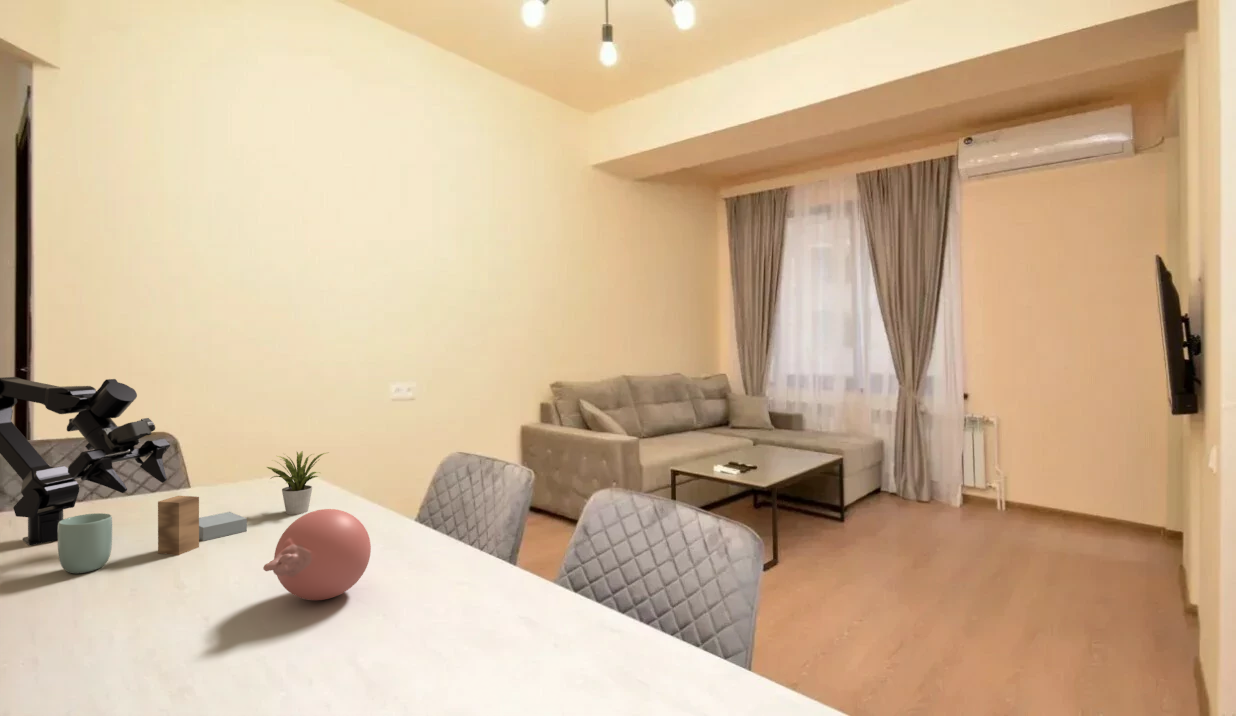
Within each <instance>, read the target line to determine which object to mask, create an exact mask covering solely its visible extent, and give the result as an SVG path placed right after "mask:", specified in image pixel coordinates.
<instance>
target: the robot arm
mask: <svg viewBox="0 0 1236 716" xmlns="http://www.w3.org/2000/svg"><path fill="white" fill-rule="evenodd" d="M137 397H138V394H137V392H136V390H135V389H134V388H133V387H130V386H129V385H127V384H125V383H123V382H120V381H119V382H118V380H117V379H116V378H112V379H111V378H109V379H105V380H104V381H103V382H102V384H101V386H100V387H99V388H98V389H96V388H95V387H93V386H91V385H73V386H72V385H71V386H70V385H67V386H59V385H53V384H48V383H42V382H38V381H33V380H28V379H23V378H20V377H17V376H6V377H5V376H4V377H0V455H1V456H2V458H4V460H5V461H6V462H7V464H9V466H10V467H11V468H12V469H13V470H14V472H15V473H16V474H17V475H18V476H19V477H20V479H21V480H22V483H21V488H20V489H21V490H20V493H21V495H22V497H21V498H20V499H19V500H18V501H17V502H16V503H15V504H14V506H13V511H14V515H15V517H19V518H27V536H24V537H22V541H23V542H25V543H26V544H27V545H28V546H34V545H35V546H36V545H39V544H40V545H41V544H44V543H50V542H51V543H52V542H55V541H58V522H59V521H61V520H63V519H64V510H66V509H71V508H72V509H73V508H75V505H76V503H77V499H78V496H79V493H80V485H79V483H78V481H77V479H81V481H88V482H91V483H95V484H98V485H101V486H103V487H106V488H109V489H111V490H114V491H115V492H116V491H117V492H119V493H122V494H124V493H126V492H127V491H128V488H127V486H126V484H125V482H124V481H123V480H122V479H121V477H120V476H119V475H118V473H117V472H116V471H115V469H114V468H113V467H114V466H113V464H114V463H115V464H116V463H118V462H119V463H120V462H124V461H129V460H133V459H134V460H135V462H136V463H138V464H140V466H139V467H140V469H142V470H144V471H145V472H146V473H148V474H149V475H150V476H152V477H153V478H154V479H156V480H157V481H159V482H160V483H162V484H163V483H165V482H166V481H167V480H168V478H167V475H166V471H165V470H166V469H165V465H164V463H163V456H164V455H165V454H166V452H167V451H168V449H169V448H170V447H171V444H170V443H169V442H168V440H167V439H166V438H161V437H160V438H155V439H149V440H146V441H145V442H144V443H143V444H142V445H141V446H140V447H139V448H135V446H138V445H139V444H140V443H141V441H140V439H142V438H144V437H147V436H150V435H152V432H154V431H156V426H155V425H156V424H154V422H153V420H152V419H151V418H150V417H146V418H141V419H139V420H137V421H131V422H127V423H125V424H122V425H117V423H115V421H114V420H113V419H116V418H119V417H120V416H122V414H123V413H124V412H125V411H126V410H127V409H128V407H130V406H131V404H133V402H135V400H136V399H137ZM18 400H21V401H27V402H33V403H36V404H41V405H43V406H45V409H46V410H48V411H51V412H53V413H55V414H58V415H68V414H69V415H70V414H76V415H75V416H74V417H73V418H69V419H68V424H67V425H66V432H69V433H70V432H74V431H75V432H76V431H79V433H80V434H81V436H82V437H83V438H84V439H85V440H86V442H87V444H86V445H85V448H86V450H85V451H81V452H80V453H79V454H78V455H77V456H76V458H75V459H73V461H71V463H70V464H69V465H68V467H67V466H65V465H60V466H55V467H52V466H51V465H49V464H48V462H47V461H46V460H45V459H44V458H43V457H42V456H41V454H40V453H39V452H38V451H37V450H36V449H35V447H34V446H33V445H32V444H31V443H30V441H29V440H28V439H27V438H26V436H24V434H23V433H22V432H21V431H20V430H19V429H18V428H17V426H16V425H15V424H14V422H13V421H12V418H13V411H14V409H13V408H14V407H15V405H16V404H17V403H18Z"/></svg>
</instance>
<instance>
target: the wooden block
mask: <svg viewBox="0 0 1236 716" xmlns="http://www.w3.org/2000/svg"><path fill="white" fill-rule="evenodd" d="M199 518H200V497H199V496H191V495H190V496H189V495H176V496H172V497H170V498H166V499H162V500H158V501H157V554H161V555H172V556H173V555H174V556H180V555H183V554H186V553H188V552H190V551H194V550H196V549H198V548H200V539H199Z"/></svg>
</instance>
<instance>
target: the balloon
mask: <svg viewBox="0 0 1236 716" xmlns="http://www.w3.org/2000/svg"><path fill="white" fill-rule="evenodd" d="M371 550H372V545H371V539H370V536H369V533H368V530H367V528H366V527H365V525H364V524H363V523H362V522H361V521H360V519H358V518H357V517H356V516H355V515H354V514H351V513H349V512H347V511H344V510H340V509H335V508H324V509H316V510H314V511H313V510H312V511H310V512H308V513H306V514H305V513H304V514H303V515H302V516H300V517H298V518H297V519H295V520H294V521H293V522H292V523H291V524H290V525H288V527H287V528H286V529H285V530H284V532H282V535H281V536H280V538H279V540H278V542H277V543H276V547H275V550H274V556H273V557H274V558H273V559H272V560H271V561H269V562H268V563H265V564H264V565H263V567H262V568H263V569H262V570H264V571H265V572H270V571H273V574H274V575H276V577H277V579H278V581H279V582H280V584H281V585H282V587H283V588H284V589H285V590H286V591H287V592H288V593H289V594H291V595H293V596H295V597H297V598H300V599H302V600H308V601H324V600H325V601H326V600H329V599H332V598H335V597H338V596H340V595H342V594H344V593H345V592H347V591H349V590H350V589H351V588H352V587H353V586H355V584H357V583H358V582H359V580H360V579H361V578H362V577H363V575H364V573H365V572H366V570H367V568H368V565H369V562H370V557H371V552H372V551H371Z"/></svg>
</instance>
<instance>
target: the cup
mask: <svg viewBox="0 0 1236 716" xmlns="http://www.w3.org/2000/svg"><path fill="white" fill-rule="evenodd" d="M112 546H113V515H111V514H110V513H103V512H101V513H99V512H97V513H85V514H79V515H75V516H70V517H67V518H63V520H61V521H59V522H58V540H57V552H58V553H57V554H58V559H59V560H58V561H59V564H60V566H61V568H62V569H63V570H64V571H66V572H68V573H71V574H85V573H90V572H93V571H96V570H99V569H100V568H102V567H104V566H105V565H106V564H107V563H108V561H109V559H110V557H111V553H112Z"/></svg>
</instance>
